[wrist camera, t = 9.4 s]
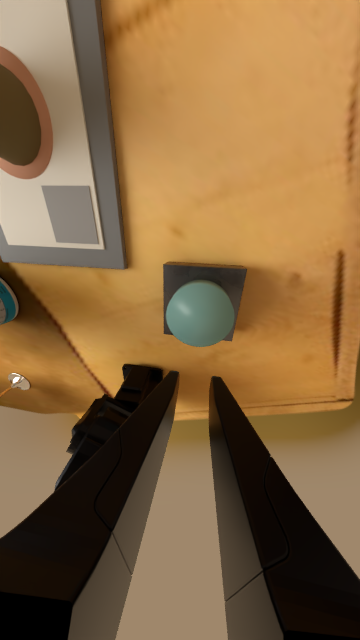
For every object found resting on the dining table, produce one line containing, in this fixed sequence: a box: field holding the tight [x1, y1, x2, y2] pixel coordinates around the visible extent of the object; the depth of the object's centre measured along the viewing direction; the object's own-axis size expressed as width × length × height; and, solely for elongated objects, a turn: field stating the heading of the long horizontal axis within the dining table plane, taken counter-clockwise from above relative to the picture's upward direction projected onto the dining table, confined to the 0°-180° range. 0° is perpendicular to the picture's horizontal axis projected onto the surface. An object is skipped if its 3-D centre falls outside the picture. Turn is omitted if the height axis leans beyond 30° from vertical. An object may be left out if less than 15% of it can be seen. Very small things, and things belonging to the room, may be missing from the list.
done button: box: [166, 280, 234, 347], centre depth 15 cm, size 6×6×2 cm
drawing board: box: [0, 0, 127, 269], centre depth 15 cm, size 20×16×1 cm
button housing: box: [163, 262, 247, 341], centre depth 18 cm, size 8×8×2 cm
